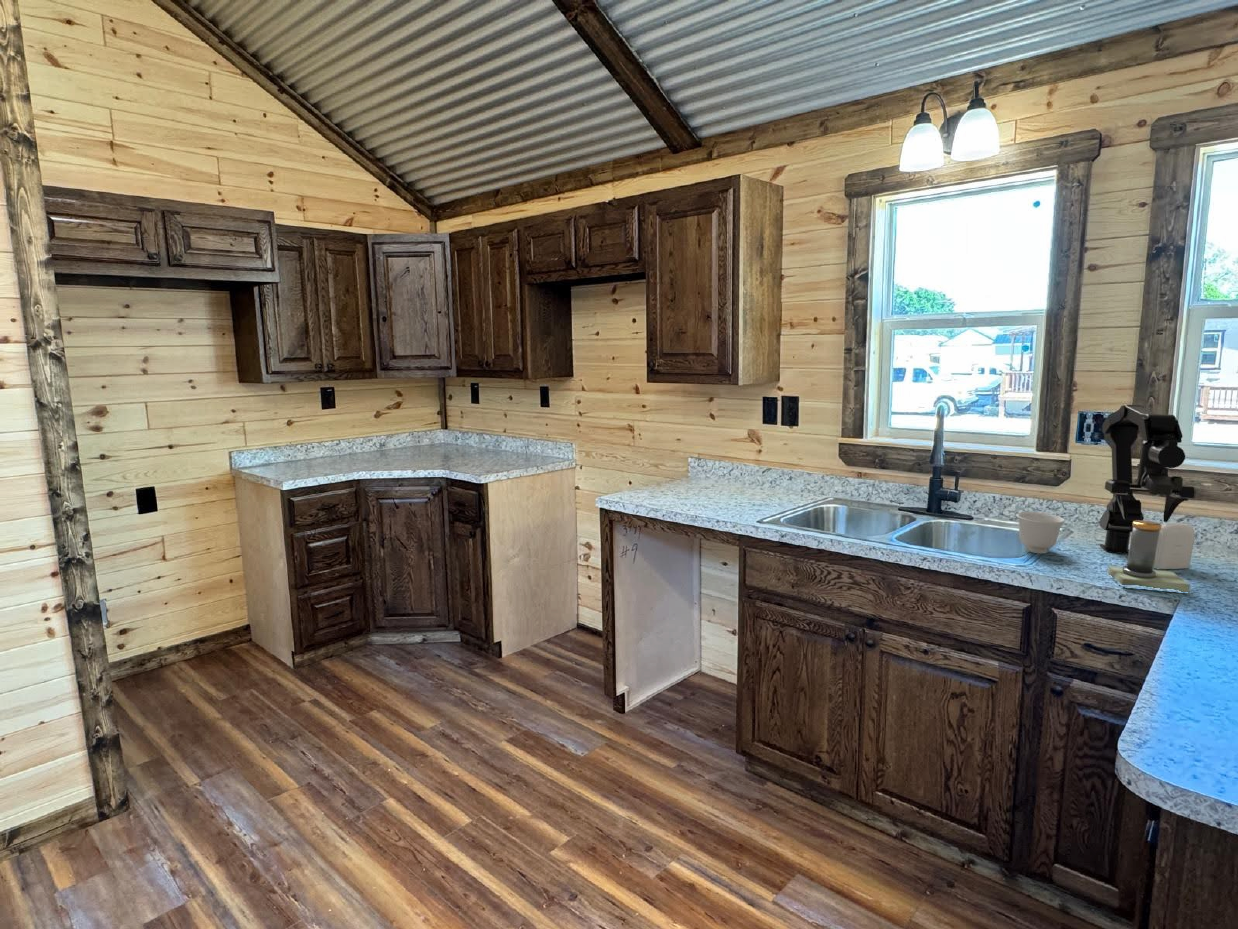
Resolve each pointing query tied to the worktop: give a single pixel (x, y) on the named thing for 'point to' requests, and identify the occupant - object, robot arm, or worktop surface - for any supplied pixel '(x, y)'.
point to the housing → (1142, 549)
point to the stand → (1151, 579)
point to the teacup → (1038, 530)
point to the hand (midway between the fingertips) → (1144, 520)
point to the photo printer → (1174, 546)
